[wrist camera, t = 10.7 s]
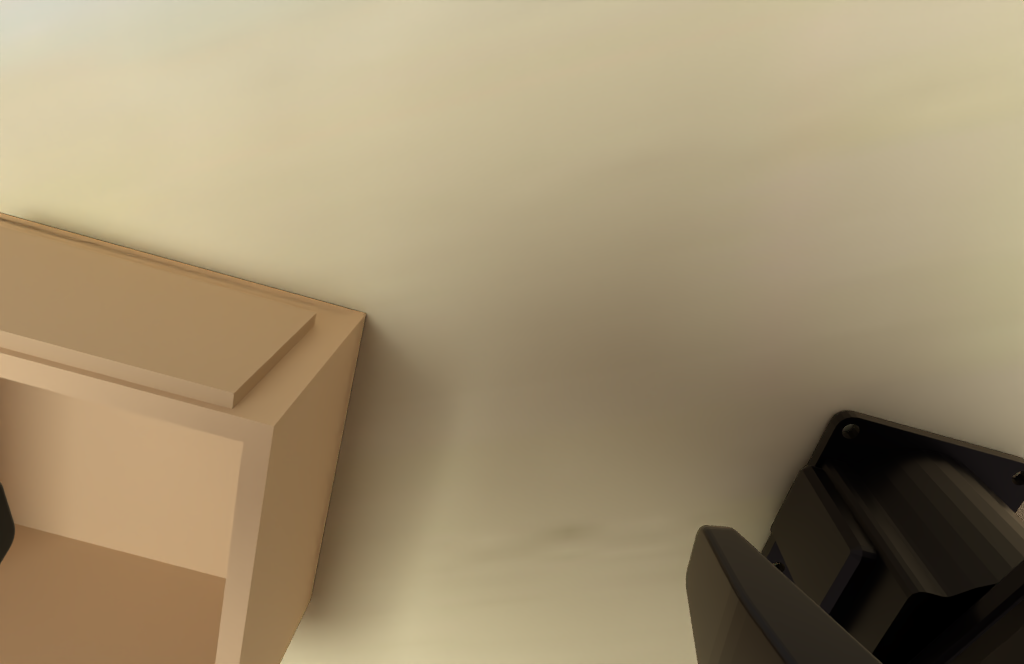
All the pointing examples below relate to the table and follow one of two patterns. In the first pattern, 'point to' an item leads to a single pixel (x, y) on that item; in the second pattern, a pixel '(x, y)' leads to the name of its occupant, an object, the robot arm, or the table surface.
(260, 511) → the carton
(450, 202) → the table surface
